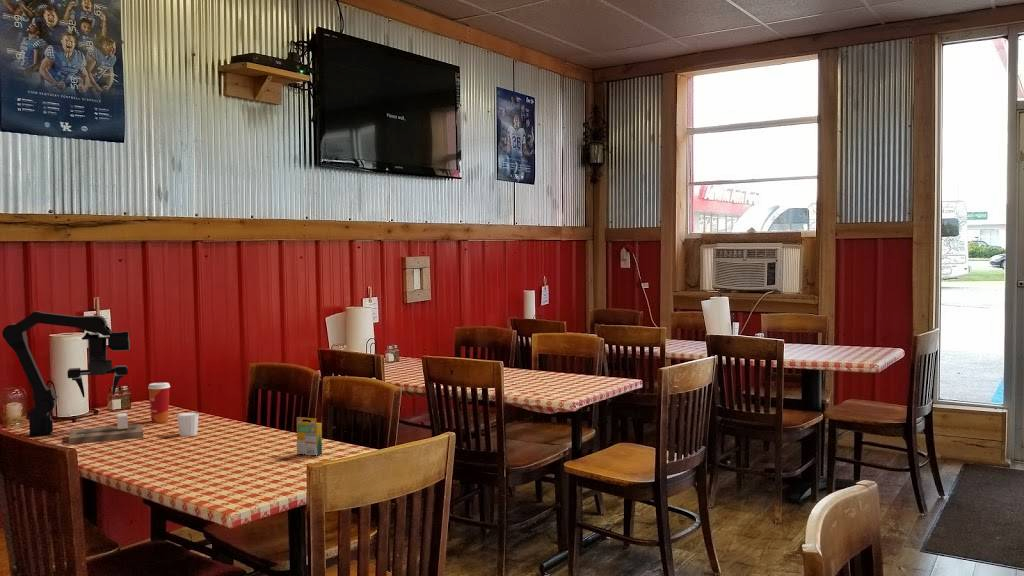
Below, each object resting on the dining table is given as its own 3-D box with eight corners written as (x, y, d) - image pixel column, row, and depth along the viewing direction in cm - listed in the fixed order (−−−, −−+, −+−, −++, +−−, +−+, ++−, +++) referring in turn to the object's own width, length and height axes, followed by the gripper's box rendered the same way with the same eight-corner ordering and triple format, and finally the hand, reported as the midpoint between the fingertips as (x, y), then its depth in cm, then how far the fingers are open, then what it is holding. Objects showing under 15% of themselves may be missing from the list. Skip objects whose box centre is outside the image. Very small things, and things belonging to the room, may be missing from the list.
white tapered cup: (202, 432, 282) (202, 412, 282) (192, 436, 275) (192, 416, 275) (183, 432, 283) (183, 411, 283) (173, 436, 276) (173, 415, 276)
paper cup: (149, 420, 303) (149, 382, 303) (172, 418, 306) (171, 381, 305) (147, 424, 296) (146, 386, 295) (170, 423, 298) (169, 384, 298)
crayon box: (322, 454, 251) (322, 416, 250) (317, 456, 248) (316, 418, 247) (302, 452, 253) (301, 415, 253) (296, 454, 250) (296, 417, 250)
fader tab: (117, 430, 275) (117, 416, 274) (117, 427, 280) (117, 413, 280) (127, 429, 276) (127, 415, 276) (126, 426, 281) (126, 412, 281)
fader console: (68, 444, 264) (68, 438, 264) (69, 436, 277) (69, 429, 277) (143, 437, 275) (143, 431, 274) (140, 429, 287) (140, 423, 287)
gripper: (66, 355, 274) (67, 402, 274) (127, 352, 282) (128, 397, 283) (67, 352, 284) (68, 397, 284) (126, 349, 292) (127, 392, 293)
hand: (98, 396), depth 286 cm, fingers open, 9 cm apart
